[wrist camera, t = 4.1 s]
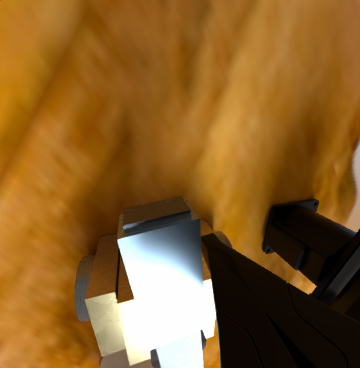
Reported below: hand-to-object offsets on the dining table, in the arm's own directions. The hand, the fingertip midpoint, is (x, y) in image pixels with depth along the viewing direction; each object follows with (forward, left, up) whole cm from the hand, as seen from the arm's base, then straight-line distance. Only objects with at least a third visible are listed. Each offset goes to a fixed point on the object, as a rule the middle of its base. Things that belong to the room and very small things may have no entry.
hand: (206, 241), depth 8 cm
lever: (+2, +3, -1) cm, 4 cm away
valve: (+1, +7, -8) cm, 10 cm away
